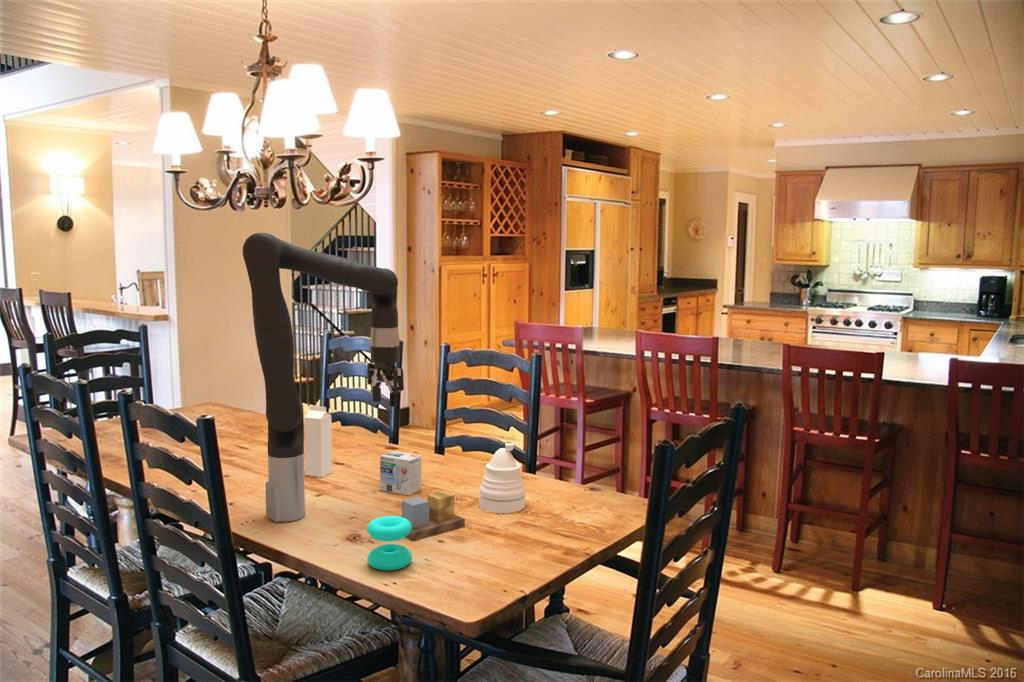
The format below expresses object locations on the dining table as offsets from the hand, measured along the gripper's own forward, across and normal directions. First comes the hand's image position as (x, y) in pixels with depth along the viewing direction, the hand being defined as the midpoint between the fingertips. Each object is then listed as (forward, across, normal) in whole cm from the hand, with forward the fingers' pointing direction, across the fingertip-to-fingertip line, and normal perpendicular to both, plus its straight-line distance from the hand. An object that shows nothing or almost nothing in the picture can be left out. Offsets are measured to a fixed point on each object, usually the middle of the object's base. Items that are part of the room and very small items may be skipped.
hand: (385, 403), depth 209 cm
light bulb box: (+30, -14, +14) cm, 36 cm away
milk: (+30, -44, +3) cm, 54 cm away
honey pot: (+30, +16, +28) cm, 44 cm away
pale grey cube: (+28, +17, -2) cm, 33 cm away
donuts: (+30, +30, -18) cm, 46 cm away
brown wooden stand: (+30, +17, +2) cm, 35 cm away
